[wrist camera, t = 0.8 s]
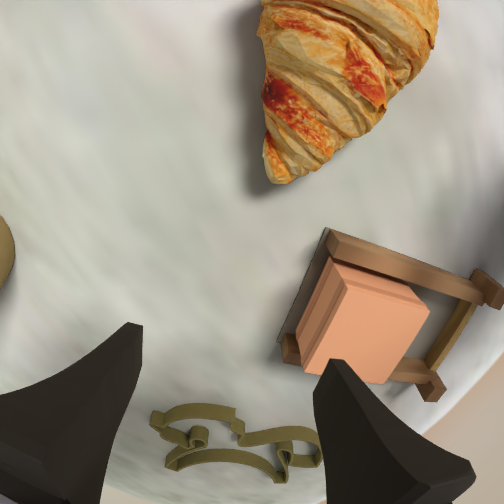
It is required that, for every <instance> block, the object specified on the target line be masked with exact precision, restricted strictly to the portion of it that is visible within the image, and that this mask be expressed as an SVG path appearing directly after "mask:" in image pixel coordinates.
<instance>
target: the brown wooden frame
mask: <svg viewBox="0 0 504 504" xmlns="http://www.w3.org/2000/svg"><path fill="white" fill-rule="evenodd" d="M329 256H331V257H334V258H337V259H340V260H343V261H346V262H350V263H353V264H356V265H359V266H362V267H365V268H368V269H372V270H375V271H378V272H381V273H384V274H387V275H390V276H393V277H396V278H399V279H402V280H403V281H404V282H405V283H407V284H408V285H409V286H410V289H411V290H412V291H413V292H414V293H415V294H416V296H417V297H418V298H419V299H420V300H421V301H423V302H424V303H425V305H426V306H427V309H428V310H429V311H430V313H429V315H428V317H427V319H426V320H425V322H424V324H423V325H422V327H421V329H420V330H419V332H418V333H417V335H416V337H415V338H414V340H413V341H412V343H411V345H410V346H409V348H408V349H407V351H406V352H405V354H404V355H403V357H402V358H401V360H400V361H399V363H398V364H397V366H396V367H395V369H394V370H393V372H392V373H391V374H390V376H389V377H388V379H387V380H391V381H400V382H409V383H415V385H416V387H417V388H418V390H419V392H420V394H421V396H422V398H423V400H424V402H437V401H438V400H439V399H440V397H441V396H442V395H443V394H444V392H445V391H446V390H447V389H446V387H445V386H444V384H443V382H442V381H441V379H440V377H439V376H438V374H437V373H436V370H437V368H438V367H439V365H440V364H441V362H442V361H443V360H444V358H445V357H446V355H447V354H448V352H449V351H450V349H451V348H452V346H453V345H454V343H455V342H456V340H457V339H458V337H459V335H460V334H461V332H462V331H463V329H464V327H465V326H466V324H467V323H468V321H469V319H470V317H471V316H472V314H473V312H474V311H475V309H476V307H477V305H480V306H483V304H484V303H486V304H487V305H488V306H489V307H492V308H495V309H498V310H500V309H501V308H502V306H503V304H504V287H502V286H501V285H500V284H499V283H498V282H496V281H495V280H494V279H493V278H491V277H490V276H489V275H488V274H486V273H484V272H482V271H480V270H478V269H475V270H474V272H473V274H472V276H471V278H470V280H468V279H465V278H463V277H460V276H458V275H455V274H453V273H450V272H448V271H445V270H442V269H440V268H437V267H435V266H432V265H429V264H427V263H424V262H422V261H419V260H416V259H414V258H411V257H408V256H406V255H403V254H400V253H397V252H395V251H392V250H389V249H387V248H384V247H381V246H378V245H375V244H373V243H370V242H367V241H364V240H361V239H359V238H356V237H353V236H350V235H347V234H344V233H341V232H338V231H335V230H333V229H330V228H327V227H326V228H325V230H324V233H323V235H322V238H321V240H320V242H319V245H318V247H317V250H316V252H315V255H314V257H313V259H312V262H311V264H310V267H309V269H308V271H307V274H306V276H305V278H304V281H303V283H302V285H301V288H300V290H299V292H298V294H297V297H296V299H295V301H294V303H293V306H292V308H291V310H290V312H289V315H288V317H287V319H286V321H285V324H284V326H283V328H282V330H281V332H280V335H279V337H278V339H277V342H279V343H281V349H282V357H283V363H288V364H293V365H298V366H302V365H301V354H300V350H299V345H298V341H297V340H296V331H295V330H296V328H297V326H298V324H299V322H300V320H301V318H302V316H303V313H304V311H305V309H306V307H307V305H308V303H309V301H310V298H311V296H312V294H313V292H314V290H315V287H316V285H317V283H318V281H319V278H320V276H321V274H322V272H323V269H324V267H325V265H326V263H327V260H328V258H329Z"/></svg>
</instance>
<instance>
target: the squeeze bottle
mask: <svg viewBox="0 0 504 504" xmlns="http://www.w3.org/2000/svg"><path fill="white" fill-rule="evenodd" d="M14 257H15V250H14V241H13V238H12V235H11V232H10V229H9V227H8V225H7V224H6V222H5V221H4V219H3V218H2V216H0V289H1V287H2V285H3V283H4V281H5V279H6V277H7V275H8V273H9V272H10V270H11V268H12V266H13V262H14Z"/></svg>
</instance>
